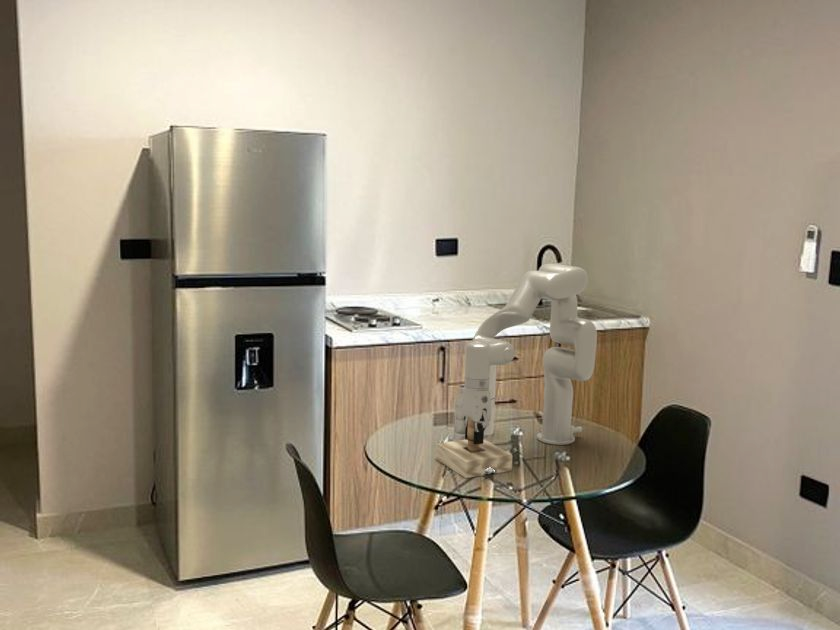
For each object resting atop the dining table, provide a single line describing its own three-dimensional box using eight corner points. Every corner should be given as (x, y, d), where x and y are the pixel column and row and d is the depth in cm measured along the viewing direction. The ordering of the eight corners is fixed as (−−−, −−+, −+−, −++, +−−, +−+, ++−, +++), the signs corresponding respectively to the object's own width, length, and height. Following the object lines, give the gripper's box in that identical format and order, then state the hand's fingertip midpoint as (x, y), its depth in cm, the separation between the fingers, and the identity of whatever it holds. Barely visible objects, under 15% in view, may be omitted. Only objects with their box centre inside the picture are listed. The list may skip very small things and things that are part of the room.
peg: (475, 451, 263) (477, 413, 261) (482, 455, 260) (484, 417, 258) (463, 453, 261) (465, 415, 259) (470, 457, 258) (472, 418, 256)
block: (480, 452, 273) (481, 437, 272) (511, 470, 257) (512, 454, 256) (436, 459, 265) (436, 443, 265) (465, 478, 250) (466, 461, 249)
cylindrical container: (493, 436, 290) (497, 364, 286) (472, 435, 291) (476, 363, 286) (492, 429, 297) (495, 359, 293) (472, 428, 298) (475, 358, 293)
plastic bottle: (456, 449, 275) (458, 389, 271) (449, 443, 281) (452, 384, 278) (475, 448, 277) (477, 388, 273) (468, 442, 283) (470, 383, 280)
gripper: (502, 388, 251) (499, 448, 254) (473, 375, 266) (470, 432, 269) (480, 390, 248) (477, 451, 251) (452, 377, 263) (449, 434, 266)
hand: (474, 440), depth 260 cm, fingers closed on peg, 4 cm apart
